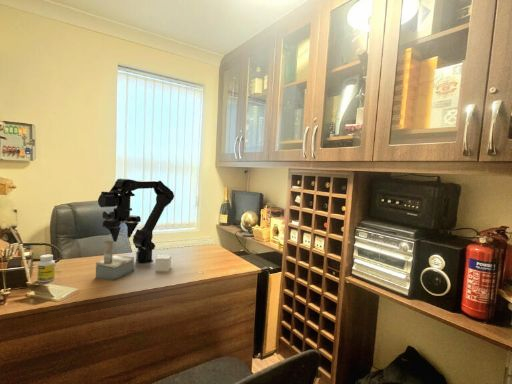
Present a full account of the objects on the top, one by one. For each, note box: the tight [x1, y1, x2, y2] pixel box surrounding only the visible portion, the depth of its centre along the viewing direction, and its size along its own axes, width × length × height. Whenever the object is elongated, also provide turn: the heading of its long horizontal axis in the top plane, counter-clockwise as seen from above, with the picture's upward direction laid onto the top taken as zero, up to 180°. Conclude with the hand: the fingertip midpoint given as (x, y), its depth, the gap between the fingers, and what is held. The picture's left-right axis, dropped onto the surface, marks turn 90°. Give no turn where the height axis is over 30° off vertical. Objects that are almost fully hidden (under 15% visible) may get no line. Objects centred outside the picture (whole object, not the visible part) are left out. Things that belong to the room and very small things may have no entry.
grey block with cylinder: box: [95, 240, 135, 268], centre depth 119 cm, size 12×9×10 cm
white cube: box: [154, 254, 172, 272], centre depth 129 cm, size 6×6×6 cm
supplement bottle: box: [36, 253, 56, 283], centre depth 109 cm, size 5×5×10 cm
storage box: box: [95, 259, 135, 281], centre depth 119 cm, size 12×9×5 cm
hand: (122, 239), depth 128 cm, fingers open, 9 cm apart
